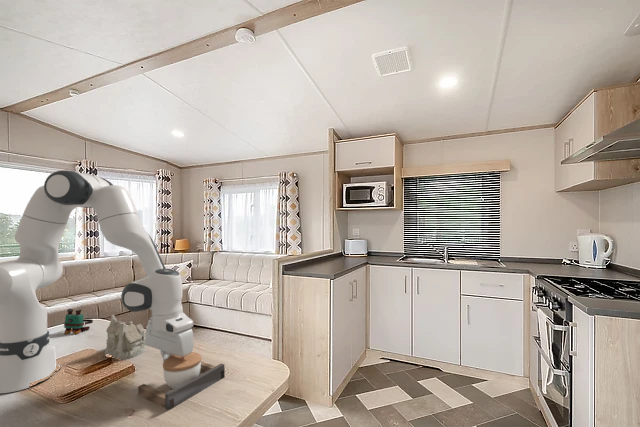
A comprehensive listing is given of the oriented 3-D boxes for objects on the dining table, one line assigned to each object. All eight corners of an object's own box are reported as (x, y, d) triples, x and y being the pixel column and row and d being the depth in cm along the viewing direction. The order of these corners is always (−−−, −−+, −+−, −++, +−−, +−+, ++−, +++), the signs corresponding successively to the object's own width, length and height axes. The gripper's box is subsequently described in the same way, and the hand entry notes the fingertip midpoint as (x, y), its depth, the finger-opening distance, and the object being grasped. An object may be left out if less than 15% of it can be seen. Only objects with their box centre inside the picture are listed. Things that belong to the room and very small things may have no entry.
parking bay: (138, 394, 88) (138, 381, 88) (195, 366, 104) (194, 354, 104) (168, 410, 80) (168, 394, 80) (224, 377, 97) (224, 364, 97)
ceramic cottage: (120, 362, 108) (122, 319, 109) (96, 355, 116) (98, 315, 117) (161, 348, 122) (162, 310, 123) (137, 342, 129) (138, 306, 131)
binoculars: (97, 306, 146) (77, 310, 136) (95, 329, 145) (75, 335, 135) (81, 306, 147) (60, 310, 138) (79, 328, 146) (58, 334, 136)
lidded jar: (187, 396, 86) (187, 363, 87) (154, 393, 88) (154, 361, 89) (208, 377, 97) (208, 347, 97) (178, 374, 99) (178, 345, 99)
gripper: (139, 318, 99) (139, 360, 99) (178, 328, 89) (179, 376, 89) (157, 312, 105) (158, 353, 105) (197, 322, 94) (197, 366, 94)
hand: (168, 364), depth 97 cm, fingers closed
